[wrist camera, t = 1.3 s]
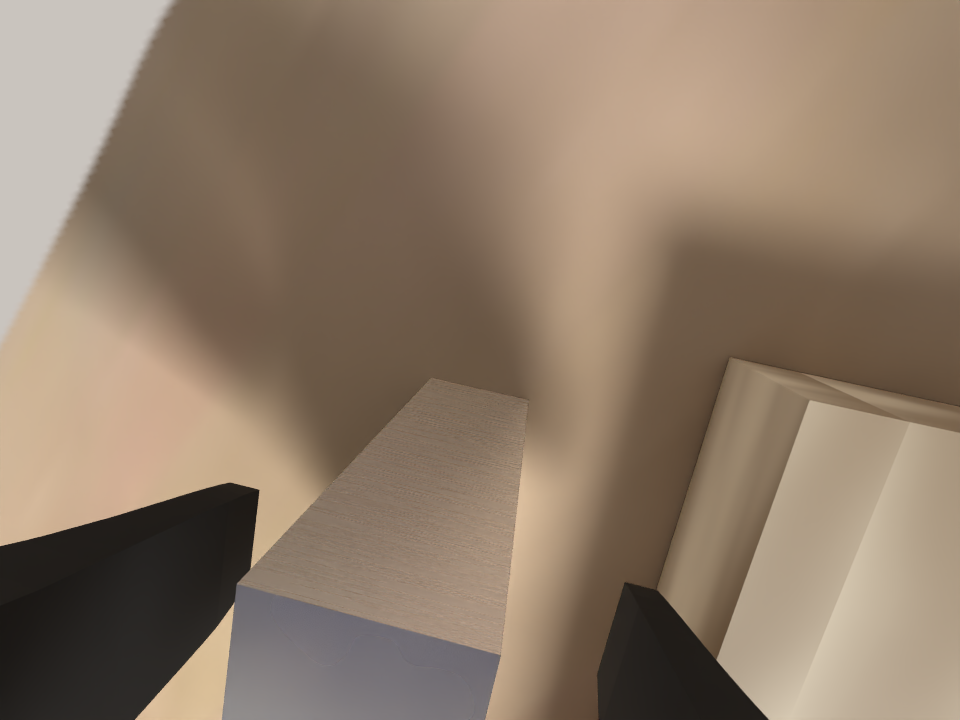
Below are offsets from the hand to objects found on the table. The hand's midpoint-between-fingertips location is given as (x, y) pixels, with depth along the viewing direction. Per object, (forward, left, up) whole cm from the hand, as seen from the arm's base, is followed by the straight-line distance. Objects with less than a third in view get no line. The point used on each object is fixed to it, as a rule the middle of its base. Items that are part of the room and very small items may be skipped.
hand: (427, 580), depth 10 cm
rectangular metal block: (0, 0, -3) cm, 3 cm away
